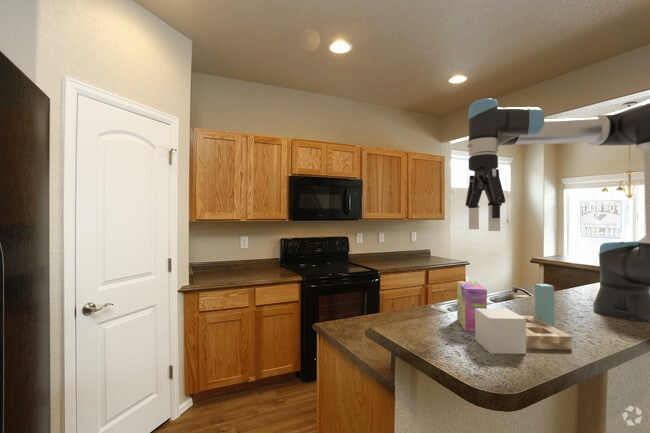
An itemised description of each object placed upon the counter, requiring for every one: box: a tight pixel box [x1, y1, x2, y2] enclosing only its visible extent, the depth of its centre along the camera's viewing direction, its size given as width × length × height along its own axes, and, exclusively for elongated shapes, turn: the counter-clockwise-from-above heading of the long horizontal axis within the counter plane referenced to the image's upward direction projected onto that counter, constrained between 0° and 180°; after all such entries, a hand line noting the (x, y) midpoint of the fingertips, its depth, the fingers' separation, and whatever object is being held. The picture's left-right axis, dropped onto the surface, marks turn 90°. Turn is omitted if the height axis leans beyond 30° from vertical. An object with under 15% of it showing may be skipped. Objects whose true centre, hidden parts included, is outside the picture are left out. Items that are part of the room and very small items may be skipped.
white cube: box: [474, 308, 527, 355], centre depth 76 cm, size 8×8×8 cm
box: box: [456, 280, 488, 333], centre depth 91 cm, size 10×6×12 cm, turn 168°
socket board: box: [521, 315, 573, 350], centre depth 82 cm, size 10×16×3 cm, turn 176°
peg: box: [534, 283, 555, 328], centre depth 89 cm, size 3×3×12 cm
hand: (483, 230), depth 90 cm, fingers open, 13 cm apart
